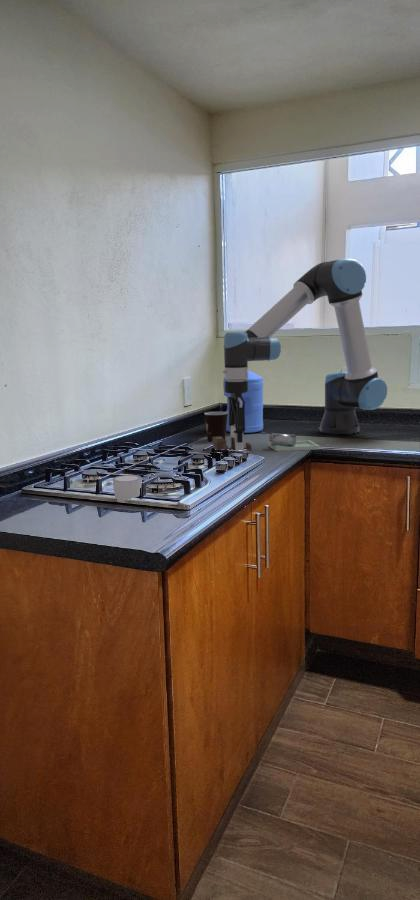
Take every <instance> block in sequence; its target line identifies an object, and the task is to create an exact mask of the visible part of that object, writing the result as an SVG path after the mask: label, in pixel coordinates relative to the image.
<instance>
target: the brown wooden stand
mask: <svg viewBox="0 0 420 900" xmlns="http://www.w3.org/2000/svg"><path fill="white" fill-rule="evenodd" d="M211 444H212V445H214V446H215V449H216V450H221V449H229V446H228V444H227V440H226V438H225V439H223V438H222V437H221V436H217V437H212V443H211ZM252 447H253V445H252V444H251V443H250V442H245V447H244V449H247V450H252V449H253V448H252Z"/></svg>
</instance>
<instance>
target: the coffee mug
mask: <svg viewBox="0 0 420 900" xmlns="http://www.w3.org/2000/svg"><path fill="white" fill-rule="evenodd" d="M203 416H204V423H205V429H206V438H207V441H208V442H212V437H217V436H221V437H222V438H223V439H225V440H226V434H227V431H226V426H227V416H228V413H227V412H226V411H208V412H204V413H203Z"/></svg>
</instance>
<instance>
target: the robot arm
mask: <svg viewBox="0 0 420 900" xmlns="http://www.w3.org/2000/svg"><path fill="white" fill-rule="evenodd" d="M366 282H367V274H366V271H365V268H364V266H363V264H361V262H359V260H356V259H355V258H354V259H353V258H340V259H335V260H330V261H329V260H328V261H322V262H320V263H318V264H316V265H315V266H313V267H311V268H309V270H308V271H306V272H305V273H304V274H303V275H302V276H301V277H299V279H297V280H296V281H295V282H294V283H293V286H292V287H293V288H292V289H290V291H288V292H287V293H286V294H285V295H284V296H283V297H281V299H279V300H278V301H277V302H276V303H275V304H274V305H273V306H272V307H271V308H270V309H269V310H267V311H266V312H265V313H264V314H263V315H262V316H261V317H260V318H259V319H258V320H256V321H255V322H254V323H253V324H252V325H251V326H250V327H249V328H248V329H247V330H245V331H239V332H238V331H235V332H234V331H232V332H226V333H225V334H224V336H223V337H224V339H223V353H224V354H223V355H224V356H223V357H224V361H223V362H224V369H223V371H222V373H223V374H224V378H225V379H226V380H227V381H225V392H226V393H231V397H229V398H228V399H229V426H230V428H231V425H234V424H235V428H236V431H233V432H234V433H235V450H244V448H245V447H244V443H245V442H244V433H243V432H244V431H245V401H244V400H243V398H242V393H246V392H247V391H248V382H247V381H246V379H248V370H249V368H248V367H249V366H248V365H249V363H248V362H261V361H262V362H263V361H268V362H269V361H275V360H277V359H279V357H280V355H281V352H282V350H281V349H282V346H281V345H282V344H281V342H280V340H279V339H278V338H277V337H273V336H274V335H275V334H276V333H277V332H278V331H279V330H280V329H281V328H282V327H284V326H285V325H286V324H287V323H288V322H289V321H290V320H291V319H293V317H295V315H297V313H299V312H300V311H301V310H302V309H304V307H306V306H307V305H312V304H313V303H314V302H315V301H316V300H318V299H320V298H323V297H326V296H327V300H328V304H329V305H331V306H332V307H334V312H335V316H336V321H337V326H338V331H339V336H340V341H341V344H342V349H343V355H344V360H345V366H346V369H347V371H344V372H334V373H328V374H327V375H326V376H325V382H324V413H323V416H322V419H321V422H320V426H319V433H323V434H327V435H337V434H346V435H354V434H353V433H355V434H358V433H360V423H359V421H358V418H357V416H358V415H357V414H356V409H361V410H363V411H367V410H369V411H372V410H376V409H378V408H379V407H381V406H382V405H383V404H384V402H385V400H386V399H387V395H388V385H387V383H386V382H385V380H383V379H382V378H380V377H379V375H378V370H377V368H376V367H374V366H372V362H371V361H372V360H371V355H370V351H369V346H368V341H367V336H366V330H365V324H364V321H363V320H364V319H363V315H362V308H361V305H360V300H361V299H362V296H363V290H364V288H365V285H366ZM357 432H358V433H357ZM229 433H230V434H231V429H230V432H229Z"/></svg>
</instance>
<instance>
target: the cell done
mask: <svg viewBox="0 0 420 900" xmlns="http://www.w3.org/2000/svg"><path fill="white" fill-rule="evenodd" d="M268 441H269V443H270V445H278V446H293V447H294V446H295V444H296V441H297V436H296V434H290V433H276V432H275V433H273V432H271V433H270V435H269V437H268Z"/></svg>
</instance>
